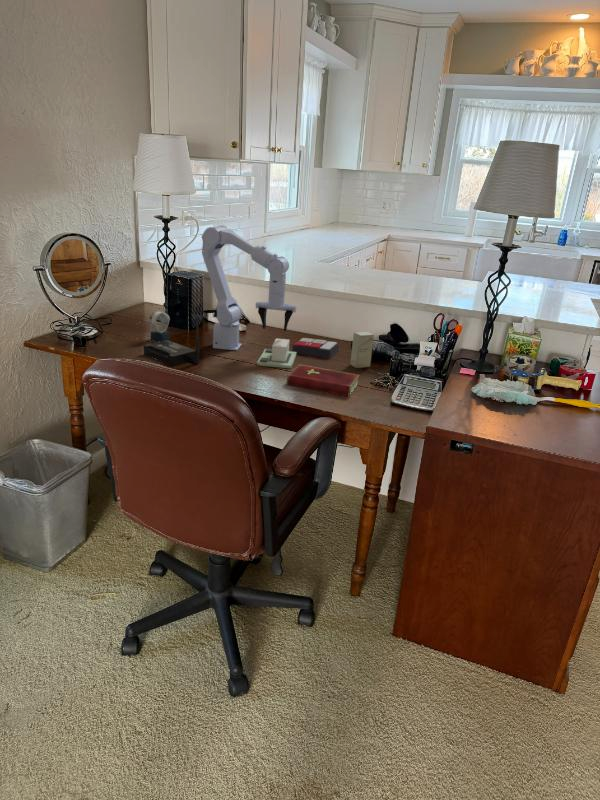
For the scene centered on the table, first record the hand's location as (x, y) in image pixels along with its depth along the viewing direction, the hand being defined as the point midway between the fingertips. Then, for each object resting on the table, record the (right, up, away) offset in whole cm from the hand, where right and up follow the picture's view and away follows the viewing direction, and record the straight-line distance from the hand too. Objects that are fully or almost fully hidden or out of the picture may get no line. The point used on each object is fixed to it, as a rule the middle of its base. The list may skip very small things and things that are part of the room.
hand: (274, 329), depth 203 cm
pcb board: (+1, -11, -1) cm, 11 cm away
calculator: (+15, -8, +11) cm, 20 cm away
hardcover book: (+17, -22, -21) cm, 34 cm away
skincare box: (+31, -13, -1) cm, 34 cm away
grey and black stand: (-35, -12, -7) cm, 38 cm away
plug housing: (+2, -10, -2) cm, 11 cm away
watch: (-44, -3, +11) cm, 46 cm away
